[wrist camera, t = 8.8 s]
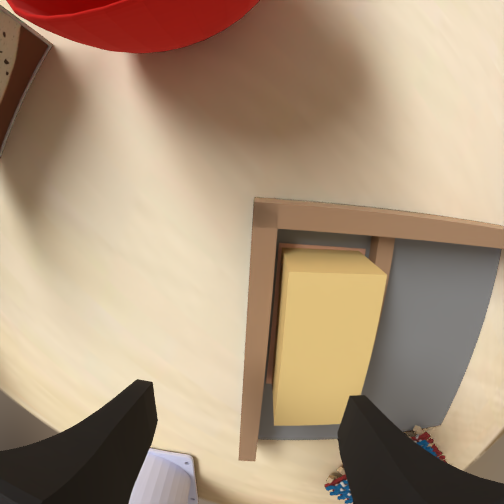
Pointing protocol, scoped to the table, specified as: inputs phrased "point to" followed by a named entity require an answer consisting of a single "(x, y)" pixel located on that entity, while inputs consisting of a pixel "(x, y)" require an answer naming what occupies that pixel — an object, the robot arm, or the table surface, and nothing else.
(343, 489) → the woven mat
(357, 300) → the ochre block
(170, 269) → the table surface
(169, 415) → the table surface
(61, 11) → the ceramic cup
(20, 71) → the food container
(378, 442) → the robot arm
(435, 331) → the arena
